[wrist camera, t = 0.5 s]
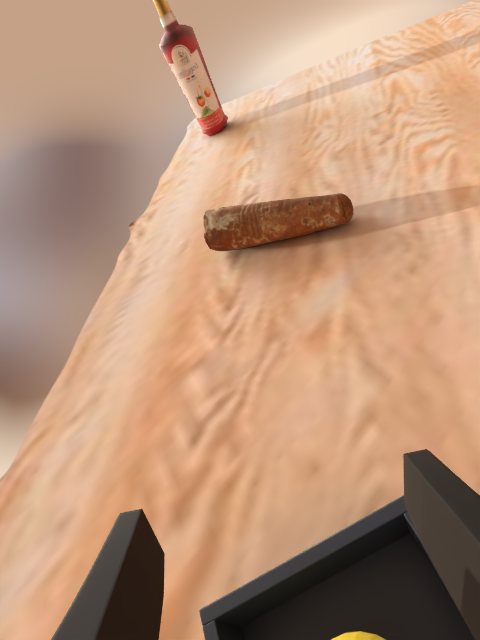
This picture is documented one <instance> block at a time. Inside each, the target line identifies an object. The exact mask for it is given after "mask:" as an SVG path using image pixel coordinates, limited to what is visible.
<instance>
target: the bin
mask: <svg viewBox="0 0 480 640" xmlns="http://www.w3.org/2000/svg"><path fill="white" fill-rule="evenodd" d="M199 612H200V616H201V621H202V625H203V631H204V636H205V640H331V639H333V638H335V637H338V636H340V635H342V634H344V633H349V632H359V631H361V632H366V633H370V634H375V635H378V636H380V637H382V638H384V639H386V640H475V638H474V636H473V635H472V633H471V631H470V629H469V628H468V626H467V624H466V622H465V620H464V619H463V617H462V615H461V613H460V611H459V610H458V608H457V606H456V604H455V603H454V601H453V599H452V597H451V595H450V594H449V592H448V590H447V588H446V587H445V585H444V583H443V581H442V579H441V578H440V576H439V574H438V572H437V571H436V569H435V567H434V565H433V563H432V562H431V560H430V558H429V556H428V554H427V552H426V551H425V549H424V547H423V545H422V543H421V541H420V539H419V536H418V534H417V532H416V530H415V528H414V525H413V523H412V521H411V518H410V516H409V514H408V511H407V509H406V507H405V504H404V496H402V497H400V498H398V499H396V500H395V501H393V502H391V503H389V504H387V505H386V506H384V507H382V508H380V509H379V510H377V511H375V512H373V513H371V514H370V515H368V516H366V517H364V518H363V519H361V520H359V521H357V522H355V523H354V524H352V525H350V526H348V527H346V528H345V529H343V530H341V531H339V532H338V533H336V534H334V535H332V536H330V537H329V538H327V539H325V540H323V541H322V542H320V543H318V544H316V545H314V546H313V547H311V548H309V549H307V550H305V551H304V552H302V553H300V554H298V555H297V556H295V557H293V558H291V559H289V560H288V561H286V562H284V563H282V564H281V565H279V566H277V567H275V568H273V569H272V570H270V571H268V572H266V573H264V574H263V575H261V576H259V577H257V578H256V579H254V580H252V581H250V582H248V583H247V584H245V585H243V586H241V587H240V588H238V589H236V590H234V591H232V592H231V593H229V594H227V595H225V596H223V597H222V598H220V599H218V600H216V601H215V602H213V603H211V604H209V605H207V606H206V607H204V608H202V609H200V611H199Z"/></svg>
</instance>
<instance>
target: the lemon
mask: <svg viewBox="0 0 480 640" xmlns="http://www.w3.org/2000/svg"><path fill="white" fill-rule="evenodd" d="M331 640H386V639H384V638H382V637H380V636H378V635H375V634H370V633H366V632H361V631H359V632H349V633H344V634H342V635H340V636H338V637H335V638H333V639H331Z"/></svg>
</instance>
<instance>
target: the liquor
mask: <svg viewBox="0 0 480 640" xmlns="http://www.w3.org/2000/svg"><path fill="white" fill-rule="evenodd" d="M153 2H154V4H155V6H156V9H157V12H158V15H159V17H160V20H161V23H162V26H163V28H164V31H165V34H164V35H163V37H162V39H161V42H160V45H159V47H160V49H161V51H162V52H163V54H164V56H165V58H166V60H167V62H168V64H169V66H170V68H171V70H172V72H173V74H174V76H175V78H176V80H177V82H178V83H179V85H180V87H181V89H182V91H183V93H184V95H185V96H186V98H187V100H188V102H189V104H190V106H191V108H192V110H193V112H194V114H195V116H196V118H197V120H198V122H199V125H200V127H201V129H200V131H201V132H202V133H204V134H207V135H214V134H216V133H218V132H220V131H221V130H223V129H224V128H225V125H226V122H227V120H228V117H227V116H226V115H225V114H224V112H223V110H222V107H221V105H220V102H219V100H218V97H217V94H216V92H215V89H214V87H213V84H212V81H211V78H210V76H209V73H208V70H207V67H206V64H205V61H204V58H203V55H202V53H201V50H200V47H199V45H198V42H197V40H196V37H195V34H194V31H193V28H192V27H190V26H187V25H179V24H178V22H177V20H176V18H175V16H174V14H173V12H172V10H171V8H170V6H169V4H168V2H167V1H166V0H153Z"/></svg>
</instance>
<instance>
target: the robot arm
mask: <svg viewBox="0 0 480 640" xmlns="http://www.w3.org/2000/svg"><path fill="white" fill-rule="evenodd" d="M404 504H405V507H406V509H407V511H408V514H409V516H410V518H411V521H412V523H413V525H414V528H415V530H416V532H417V534H418V536H419V539H420V541H421V543H422V545H423V547H424V549H425V551H426V552H427V554H428V556H429V558H430V560H431V562H432V563H433V565H434V567H435V569H436V571H437V572H438V574H439V576H440V578H441V579H442V581H443V583H444V585H445V587H446V588H447V590H448V592H449V594H450V595H451V597H452V599H453V601H454V603H455V604H456V606H457V608H458V610H459V611H460V613H461V615H462V617H463V619H464V620H465V622H466V624H467V626H468V628H469V629H470V631H471V633H472V635H473V636H474V638H475V640H480V495H478V494H477V493H476V492H475V491H474V490H473V489H471V488H470V487H469V486H468V485H467V484H466V483H464V482H463V481H462V480H461V479H460V478H459V477H458V476H456V475H455V474H454V473H453V472H452V471H451V470H450V469H449V468H448V467H446V466H445V465H444V464H443V463H442V462H441V461H440V460H439V459H438V458H437V457H435V456H434V455H433V454H432V453H431V452H430V451H428V450H427V449H425V450H420V451H415V452H411V453H406V454H404ZM163 597H164V552H163V550H162V548H161V546H160V544H159V542H158V540H157V538H156V536H155V534H154V532H153V530H152V528H151V526H150V524H149V522H148V520H147V518H146V516H145V514H144V512H143V510H142V509H139V510H134V511H129V512H125V513H120V515H119V516H118V518H117V520H116V522H115V524H114V526H113V527H112V529H111V531H110V533H109V535H108V537H107V539H106V541H105V543H104V545H103V547H102V549H101V551H100V553H99V555H98V557H97V559H96V561H95V562H94V564H93V566H92V568H91V570H90V572H89V574H88V576H87V578H86V579H85V581H84V583H83V585H82V587H81V588H80V590H79V592H78V594H77V596H76V598H75V599H74V601H73V603H72V605H71V607H70V608H69V610H68V612H67V614H66V615H65V617H64V619H63V620H62V622H61V624H60V625H59V627H58V629H57V631H56V632H55V634H54V636H53V637H52V639H51V640H158V639H159V631H160V623H161V615H162V606H163Z"/></svg>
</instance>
